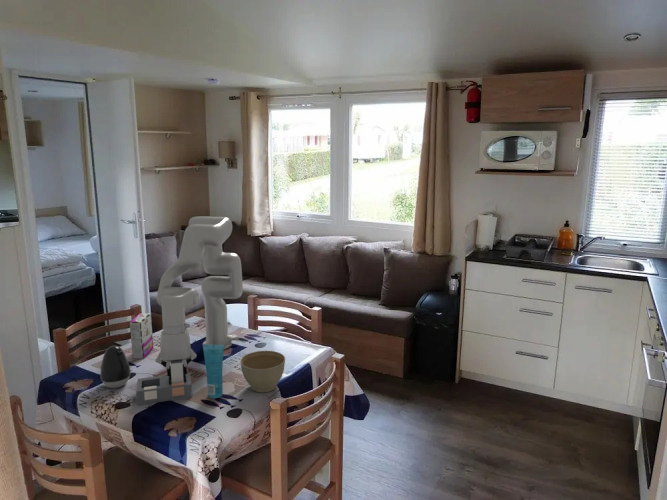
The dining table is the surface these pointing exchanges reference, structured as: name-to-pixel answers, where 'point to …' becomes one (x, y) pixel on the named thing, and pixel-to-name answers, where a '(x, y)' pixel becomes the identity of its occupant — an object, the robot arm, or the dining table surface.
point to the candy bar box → (141, 335)
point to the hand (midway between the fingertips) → (177, 376)
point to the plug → (176, 371)
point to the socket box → (162, 389)
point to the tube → (214, 369)
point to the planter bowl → (263, 369)
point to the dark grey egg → (115, 368)
